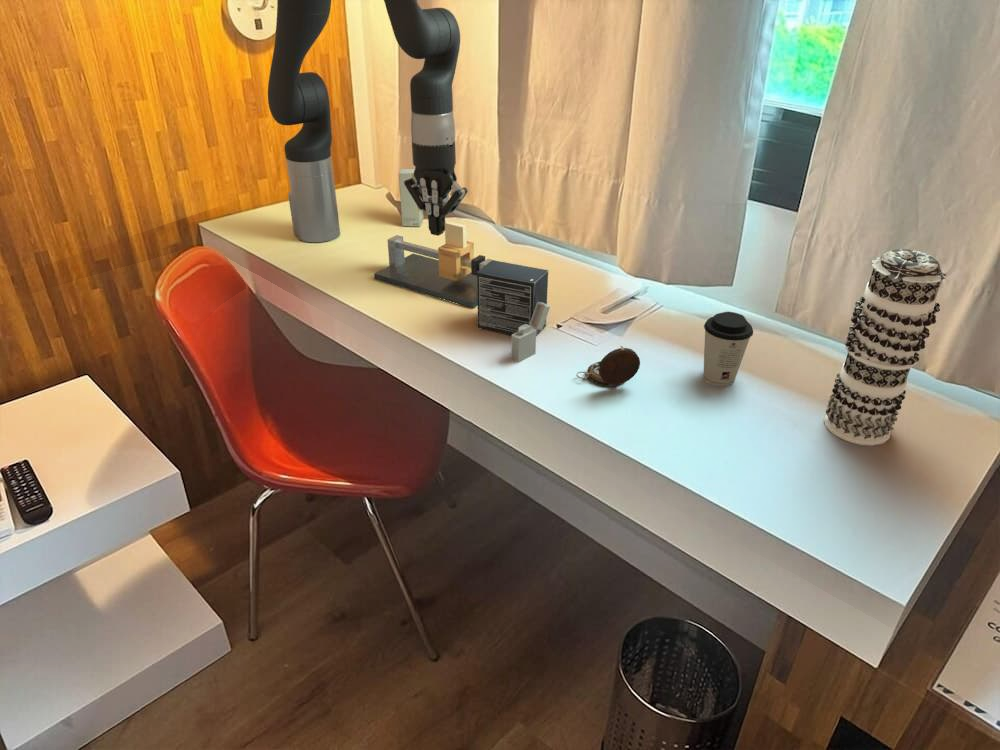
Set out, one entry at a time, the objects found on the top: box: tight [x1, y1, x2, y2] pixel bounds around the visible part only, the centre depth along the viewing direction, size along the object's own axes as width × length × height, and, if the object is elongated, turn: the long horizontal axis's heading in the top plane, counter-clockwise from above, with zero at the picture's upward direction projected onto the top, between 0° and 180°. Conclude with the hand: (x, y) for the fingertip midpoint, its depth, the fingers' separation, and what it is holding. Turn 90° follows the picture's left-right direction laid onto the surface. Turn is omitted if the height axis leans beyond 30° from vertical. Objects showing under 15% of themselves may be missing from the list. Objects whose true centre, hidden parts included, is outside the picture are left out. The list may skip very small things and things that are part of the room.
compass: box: [576, 345, 641, 387], centre depth 107 cm, size 8×8×7 cm
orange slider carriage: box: [437, 221, 475, 281], centre depth 133 cm, size 4×6×10 cm
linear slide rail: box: [373, 234, 493, 309], centre depth 137 cm, size 23×12×7 cm, turn 58°
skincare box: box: [398, 168, 424, 227], centre depth 163 cm, size 6×4×12 cm
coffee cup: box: [702, 311, 754, 387], centre depth 107 cm, size 7×7×10 cm
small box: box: [476, 259, 549, 337], centre depth 121 cm, size 11×6×10 cm, turn 65°
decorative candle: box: [823, 248, 947, 447], centre depth 93 cm, size 9×9×25 cm
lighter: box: [510, 302, 551, 363], centre depth 114 cm, size 7×2×8 cm, turn 135°
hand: (437, 233), depth 134 cm, fingers closed
